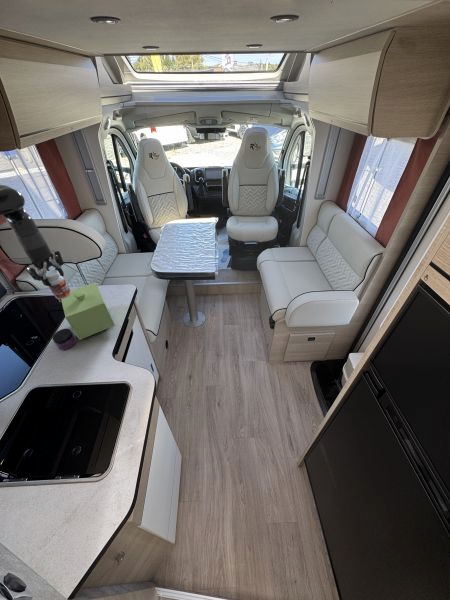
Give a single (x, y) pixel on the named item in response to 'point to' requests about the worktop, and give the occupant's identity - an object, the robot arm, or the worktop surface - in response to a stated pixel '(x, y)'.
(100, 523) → the worktop surface
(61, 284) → the pill bottle
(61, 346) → the jar
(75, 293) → the container
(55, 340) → the jar lid
